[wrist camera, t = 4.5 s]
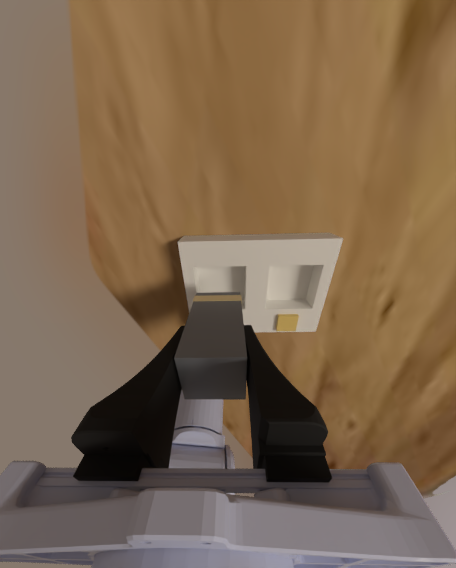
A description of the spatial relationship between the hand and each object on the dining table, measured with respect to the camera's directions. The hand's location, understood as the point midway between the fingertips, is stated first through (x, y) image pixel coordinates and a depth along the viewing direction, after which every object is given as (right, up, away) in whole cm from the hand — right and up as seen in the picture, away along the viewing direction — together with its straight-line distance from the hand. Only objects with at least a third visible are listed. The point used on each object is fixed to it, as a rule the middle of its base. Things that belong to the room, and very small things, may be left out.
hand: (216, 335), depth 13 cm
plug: (0, +1, +3) cm, 4 cm away
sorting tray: (+4, +4, +8) cm, 10 cm away
